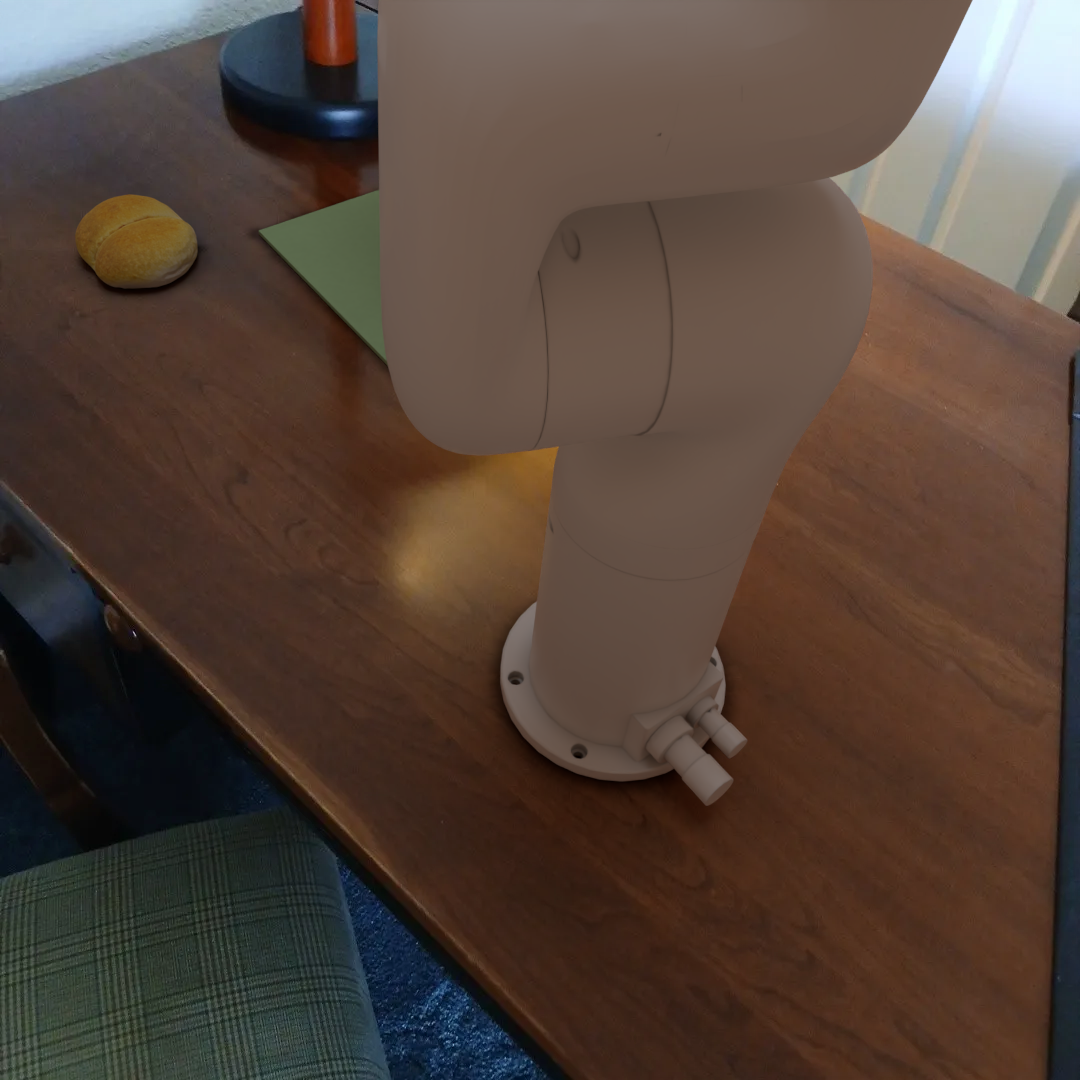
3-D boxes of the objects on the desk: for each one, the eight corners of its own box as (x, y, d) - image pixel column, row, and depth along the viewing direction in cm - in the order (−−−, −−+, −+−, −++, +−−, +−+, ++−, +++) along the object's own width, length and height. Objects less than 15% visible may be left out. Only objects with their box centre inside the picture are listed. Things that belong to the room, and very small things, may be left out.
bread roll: (121, 308, 76) (107, 262, 73) (66, 247, 80) (51, 201, 77) (222, 269, 80) (214, 223, 77) (165, 213, 84) (155, 167, 81)
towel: (608, 305, 81) (609, 301, 81) (413, 392, 73) (413, 388, 73) (445, 171, 91) (445, 166, 91) (258, 234, 83) (258, 230, 83)
